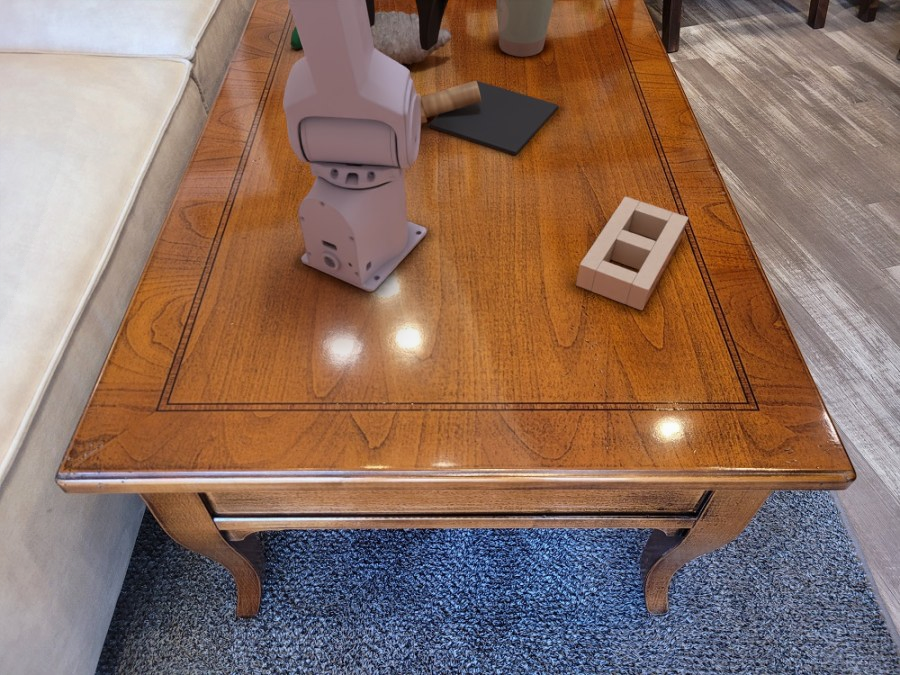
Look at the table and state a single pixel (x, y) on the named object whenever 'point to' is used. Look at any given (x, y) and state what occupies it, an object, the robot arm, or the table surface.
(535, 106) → the mat
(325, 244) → the robot arm
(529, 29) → the coffee cup
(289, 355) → the table surface
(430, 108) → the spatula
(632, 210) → the frame
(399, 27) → the seashell
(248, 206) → the table surface
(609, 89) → the table surface
